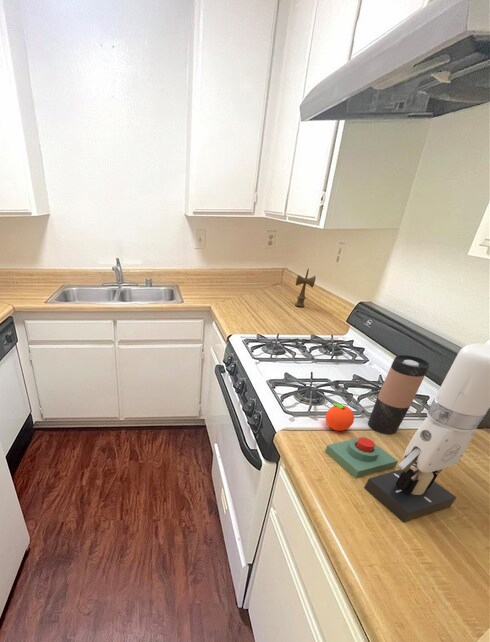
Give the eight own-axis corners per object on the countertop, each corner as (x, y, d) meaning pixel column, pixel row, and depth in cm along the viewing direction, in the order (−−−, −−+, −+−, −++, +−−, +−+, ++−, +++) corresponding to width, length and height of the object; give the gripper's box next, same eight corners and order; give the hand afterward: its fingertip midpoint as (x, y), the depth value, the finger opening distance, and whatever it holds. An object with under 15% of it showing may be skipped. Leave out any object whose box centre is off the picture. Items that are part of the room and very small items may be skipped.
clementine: (313, 424, 96) (320, 402, 92) (327, 416, 100) (335, 395, 96) (340, 438, 91) (349, 416, 87) (354, 430, 94) (363, 408, 90)
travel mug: (403, 434, 93) (438, 366, 82) (378, 436, 92) (410, 368, 81) (384, 418, 100) (414, 354, 89) (360, 420, 98) (387, 355, 87)
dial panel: (407, 475, 80) (413, 465, 78) (449, 507, 72) (457, 496, 70) (363, 488, 76) (368, 477, 74) (403, 523, 68) (410, 512, 66)
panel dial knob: (410, 478, 74) (419, 461, 72) (429, 492, 71) (439, 475, 68) (394, 482, 73) (403, 465, 71) (413, 497, 70) (423, 479, 67)
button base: (362, 443, 90) (367, 430, 87) (394, 467, 82) (401, 454, 80) (324, 451, 86) (329, 439, 84) (355, 478, 78) (361, 465, 76)
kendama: (308, 308, 193) (318, 270, 181) (290, 306, 195) (298, 268, 184) (308, 305, 197) (317, 268, 186) (290, 303, 200) (299, 266, 189)
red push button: (364, 442, 84) (366, 436, 83) (376, 451, 81) (378, 445, 80) (352, 444, 83) (354, 439, 82) (364, 454, 80) (366, 448, 79)
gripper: (441, 433, 57) (396, 509, 67) (508, 416, 61) (458, 490, 72) (401, 410, 62) (366, 483, 73) (465, 396, 67) (424, 467, 77)
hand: (412, 486), depth 72 cm, fingers closed on panel dial knob, 4 cm apart
